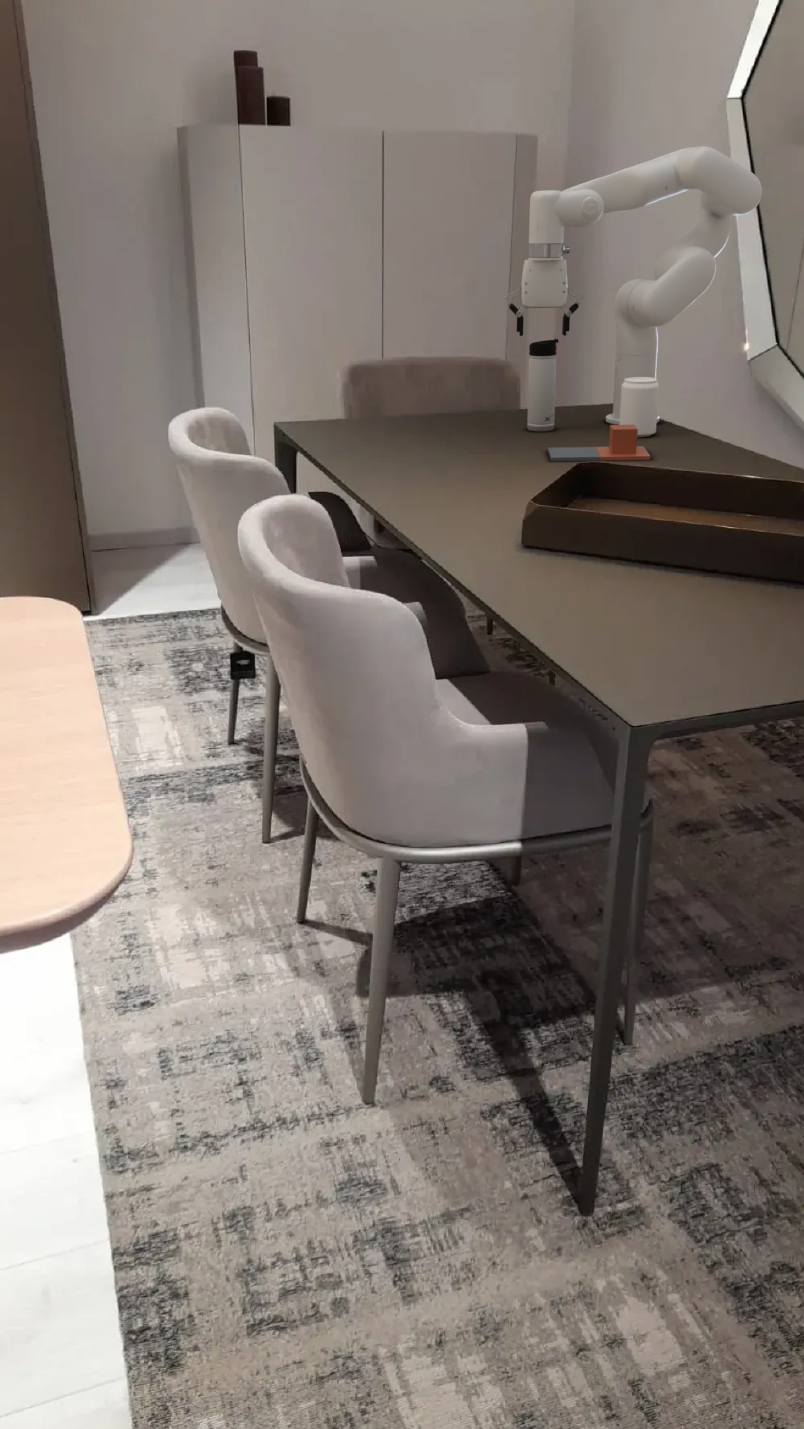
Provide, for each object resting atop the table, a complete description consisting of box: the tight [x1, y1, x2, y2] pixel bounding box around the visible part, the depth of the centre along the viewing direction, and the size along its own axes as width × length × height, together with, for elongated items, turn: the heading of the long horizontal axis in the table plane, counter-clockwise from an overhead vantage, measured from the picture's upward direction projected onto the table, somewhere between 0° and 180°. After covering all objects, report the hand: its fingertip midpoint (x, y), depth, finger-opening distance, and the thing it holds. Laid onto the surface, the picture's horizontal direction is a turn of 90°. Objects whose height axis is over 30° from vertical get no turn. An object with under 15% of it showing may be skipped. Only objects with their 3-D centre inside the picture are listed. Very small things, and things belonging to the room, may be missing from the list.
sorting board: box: [547, 445, 651, 462], centre depth 228 cm, size 10×20×1 cm, turn 87°
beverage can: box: [619, 377, 660, 438], centre depth 245 cm, size 8×8×12 cm
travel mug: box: [526, 338, 559, 433], centre depth 252 cm, size 6×7×20 cm
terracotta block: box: [608, 424, 638, 454], centre depth 227 cm, size 5×5×5 cm
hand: (542, 335), depth 248 cm, fingers open, 9 cm apart
